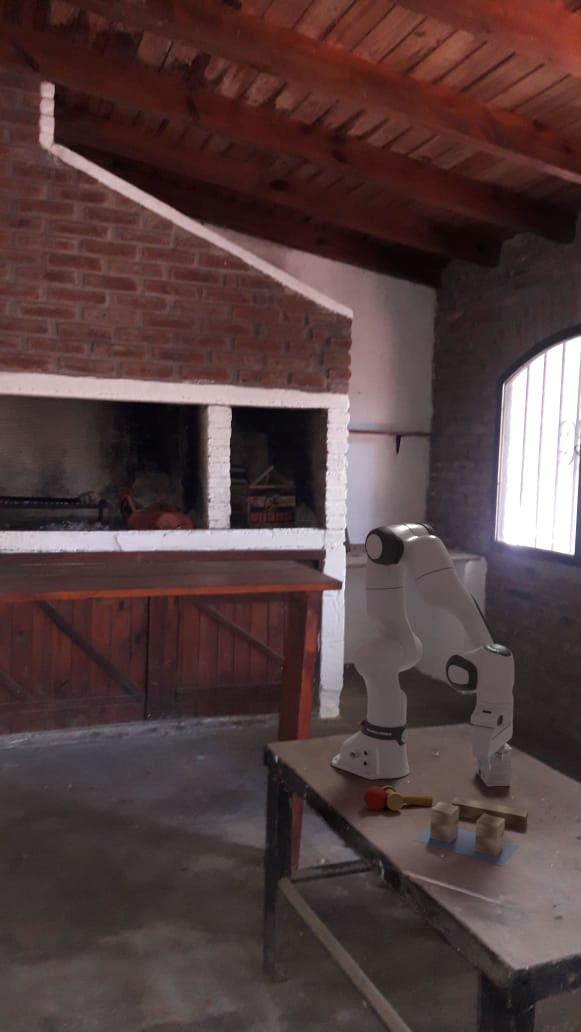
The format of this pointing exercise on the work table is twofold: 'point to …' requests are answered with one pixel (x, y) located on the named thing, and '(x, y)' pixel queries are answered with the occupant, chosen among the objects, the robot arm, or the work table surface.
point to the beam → (491, 812)
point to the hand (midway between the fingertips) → (492, 765)
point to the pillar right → (489, 834)
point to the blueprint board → (468, 846)
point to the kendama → (392, 799)
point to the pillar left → (444, 822)
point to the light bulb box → (497, 769)
